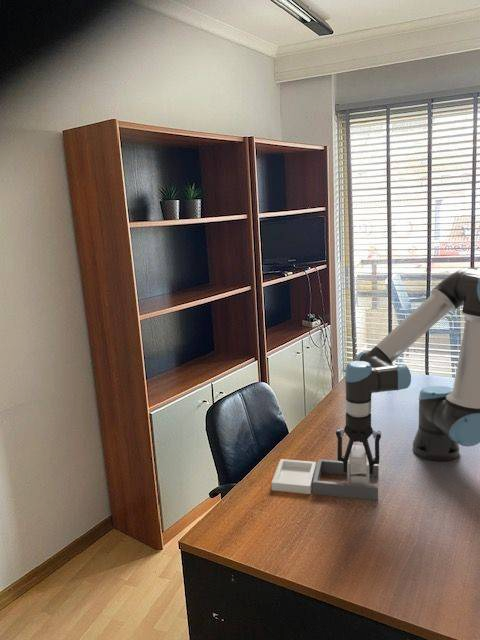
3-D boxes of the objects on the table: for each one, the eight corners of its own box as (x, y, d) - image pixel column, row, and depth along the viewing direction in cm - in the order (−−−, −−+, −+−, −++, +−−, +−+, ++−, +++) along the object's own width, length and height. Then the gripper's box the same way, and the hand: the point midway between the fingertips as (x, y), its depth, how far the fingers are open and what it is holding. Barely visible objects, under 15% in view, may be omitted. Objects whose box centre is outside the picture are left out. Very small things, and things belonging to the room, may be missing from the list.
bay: (378, 475, 164) (378, 464, 164) (378, 500, 151) (378, 488, 150) (318, 470, 170) (318, 459, 169) (313, 493, 156) (312, 482, 155)
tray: (316, 469, 170) (316, 461, 169) (310, 494, 156) (310, 486, 155) (280, 466, 173) (280, 458, 173) (271, 490, 159) (271, 482, 159)
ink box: (366, 493, 155) (367, 458, 152) (350, 492, 156) (350, 457, 153) (365, 478, 163) (366, 444, 160) (350, 477, 164) (350, 444, 161)
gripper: (389, 409, 155) (388, 478, 160) (329, 405, 160) (330, 473, 165) (389, 419, 148) (388, 491, 153) (326, 415, 153) (327, 485, 158)
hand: (358, 481), depth 159 cm, fingers closed on ink box, 5 cm apart
